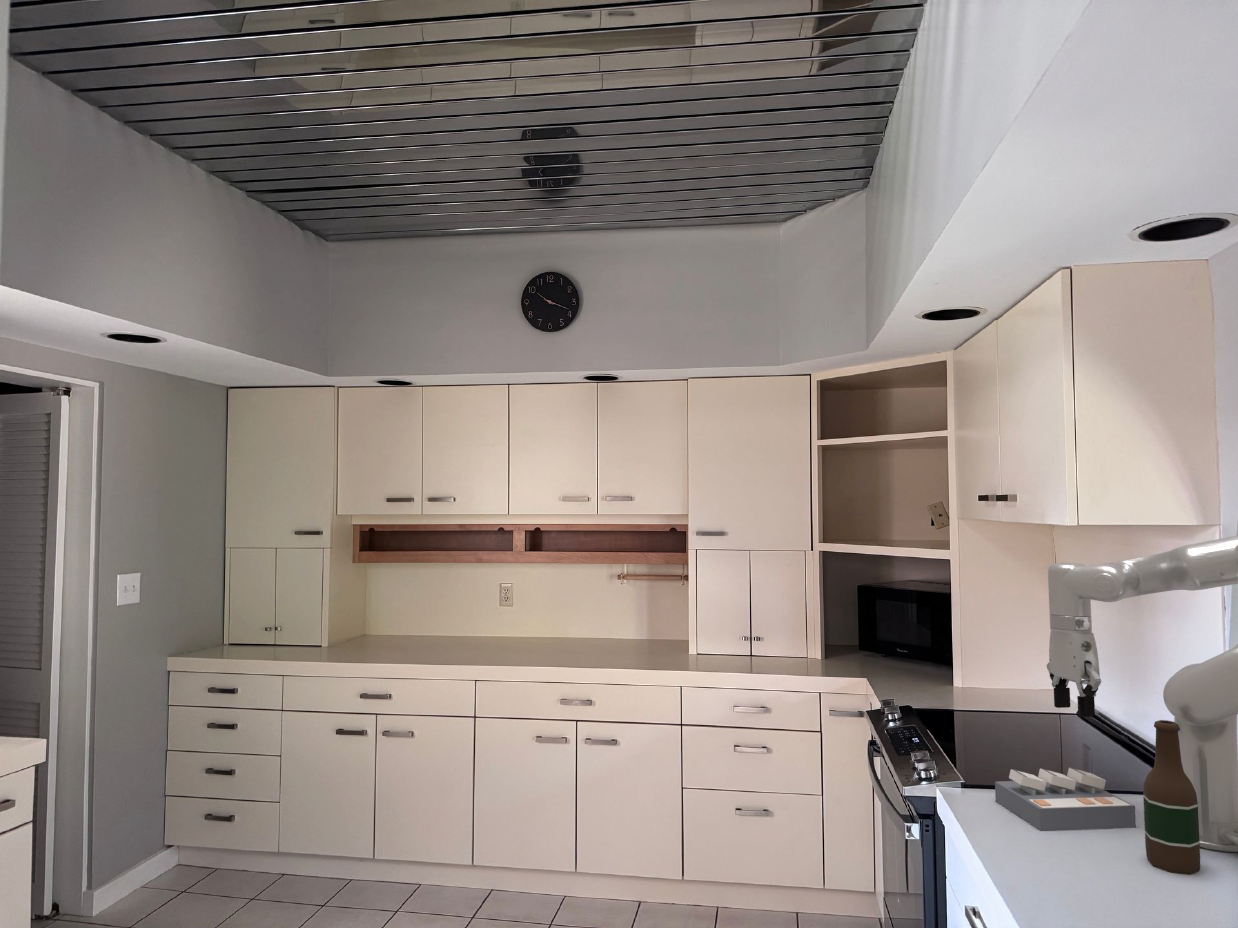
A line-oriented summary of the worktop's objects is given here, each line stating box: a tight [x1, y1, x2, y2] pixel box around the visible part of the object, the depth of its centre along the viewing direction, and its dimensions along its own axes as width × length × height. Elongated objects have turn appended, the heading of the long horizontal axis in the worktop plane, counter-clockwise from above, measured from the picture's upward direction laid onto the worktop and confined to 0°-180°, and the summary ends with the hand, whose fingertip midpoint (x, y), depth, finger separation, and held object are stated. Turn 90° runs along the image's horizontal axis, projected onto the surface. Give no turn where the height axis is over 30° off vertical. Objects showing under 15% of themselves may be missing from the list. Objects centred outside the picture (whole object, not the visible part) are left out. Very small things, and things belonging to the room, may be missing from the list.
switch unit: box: [994, 780, 1137, 831], centre depth 164 cm, size 16×19×5 cm
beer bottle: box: [1142, 719, 1201, 875], centre depth 140 cm, size 8×8×24 cm
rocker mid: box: [1037, 768, 1076, 790], centre depth 165 cm, size 4×5×2 cm
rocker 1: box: [1008, 769, 1046, 791], centre depth 165 cm, size 4×5×2 cm
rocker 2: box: [1066, 767, 1106, 790], centre depth 166 cm, size 4×5×2 cm
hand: (1074, 711), depth 167 cm, fingers open, 7 cm apart
